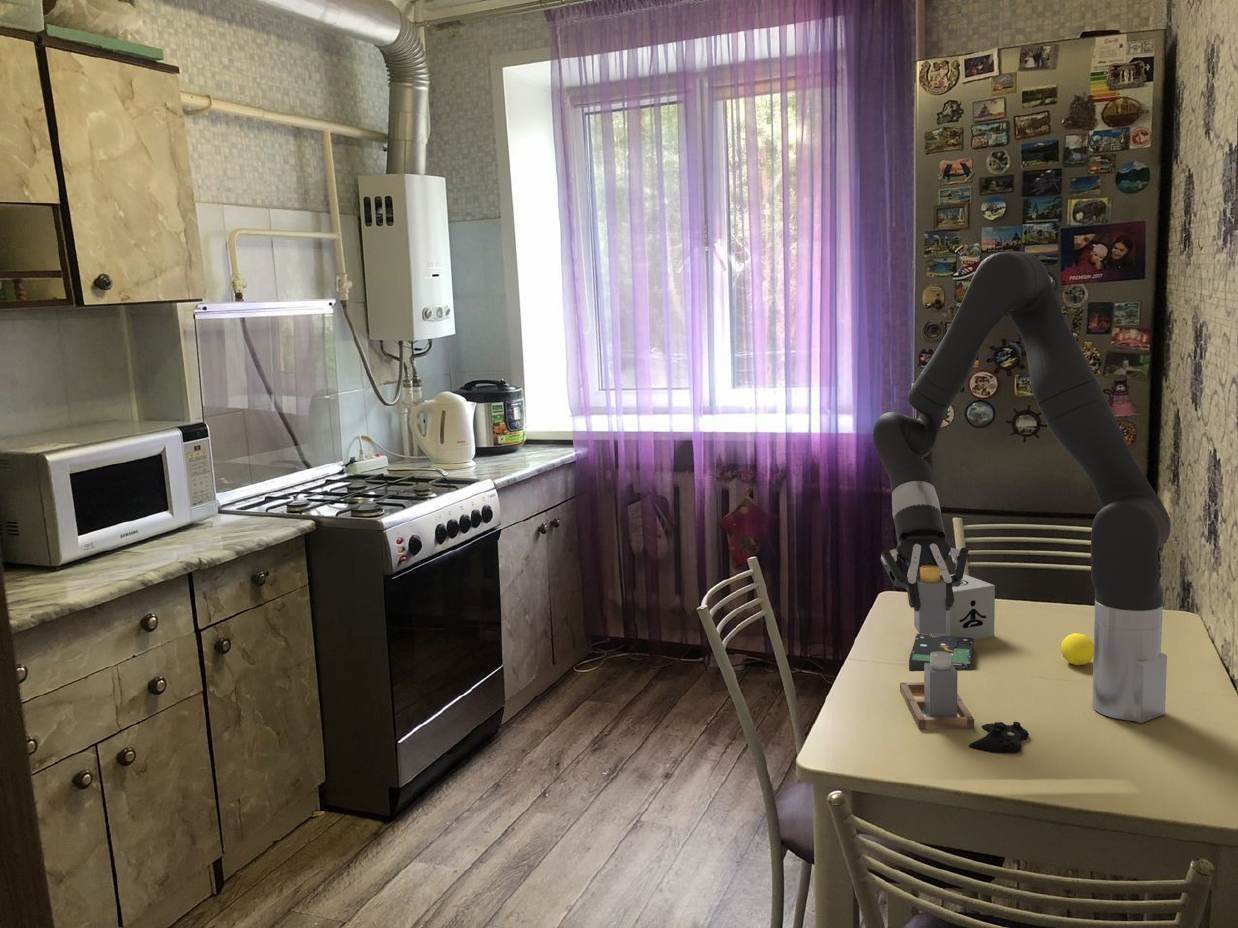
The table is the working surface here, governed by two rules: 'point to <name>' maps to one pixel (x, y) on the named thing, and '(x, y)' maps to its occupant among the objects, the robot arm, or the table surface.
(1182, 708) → the table surface
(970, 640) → the disk drive
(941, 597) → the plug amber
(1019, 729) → the game controller
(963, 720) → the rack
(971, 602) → the icon cube
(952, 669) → the plug grey
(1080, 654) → the lemon
